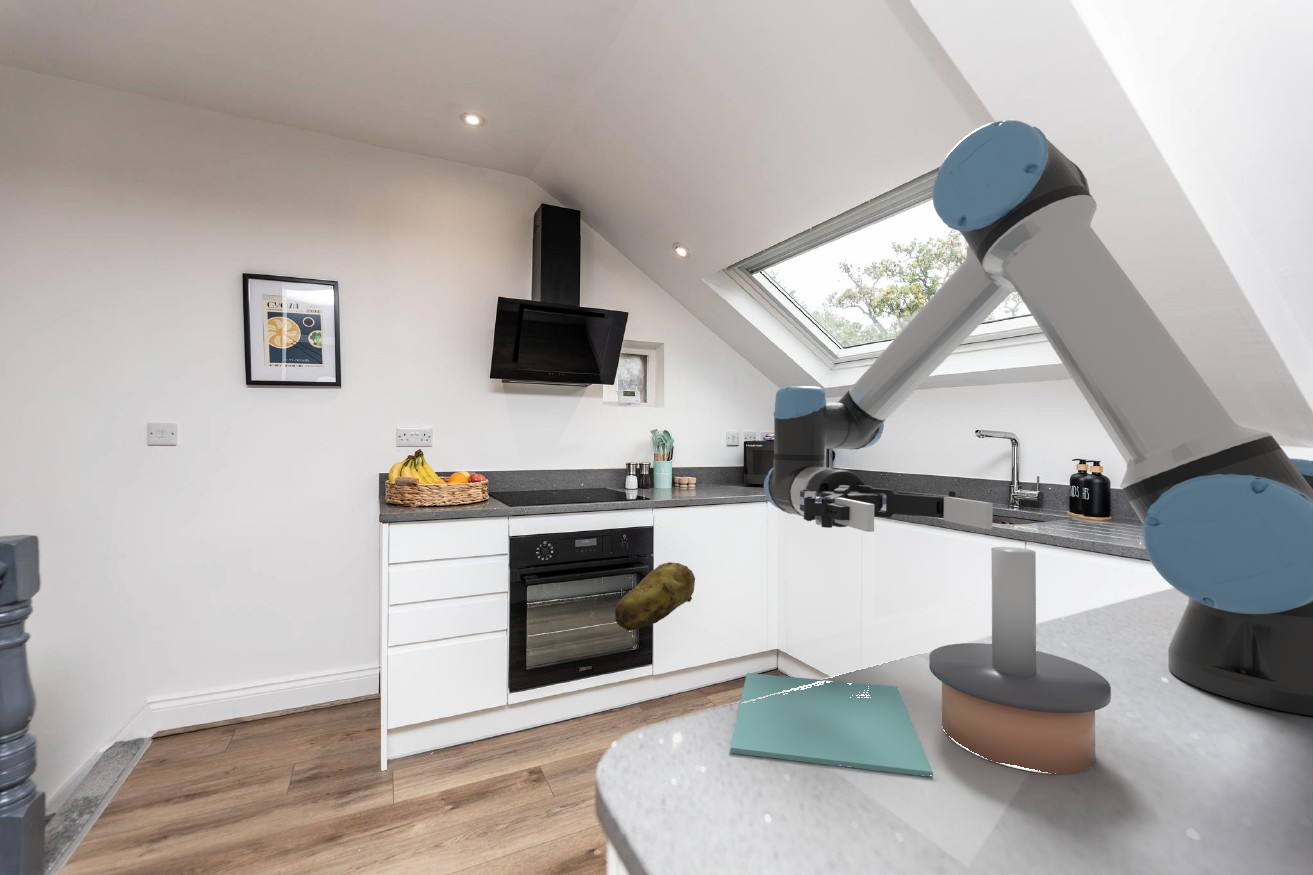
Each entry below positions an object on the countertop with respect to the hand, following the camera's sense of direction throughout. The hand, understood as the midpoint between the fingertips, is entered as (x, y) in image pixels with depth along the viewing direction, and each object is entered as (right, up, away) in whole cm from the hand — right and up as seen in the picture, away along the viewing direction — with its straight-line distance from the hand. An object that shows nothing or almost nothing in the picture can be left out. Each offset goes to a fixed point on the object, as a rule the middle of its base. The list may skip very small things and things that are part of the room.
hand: (931, 517), depth 60 cm
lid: (+2, -12, -10) cm, 16 cm away
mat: (-13, -17, -7) cm, 22 cm away
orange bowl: (+2, -17, -10) cm, 20 cm away
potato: (-28, -18, +22) cm, 40 cm away
